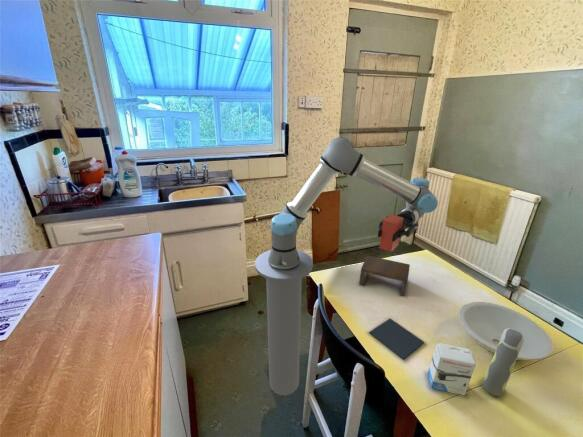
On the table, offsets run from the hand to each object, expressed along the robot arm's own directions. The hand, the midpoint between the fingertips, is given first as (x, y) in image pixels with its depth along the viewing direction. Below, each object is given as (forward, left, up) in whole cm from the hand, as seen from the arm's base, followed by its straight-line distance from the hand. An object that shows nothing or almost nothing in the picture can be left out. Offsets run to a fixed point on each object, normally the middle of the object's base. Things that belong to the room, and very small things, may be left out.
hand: (386, 235), depth 108 cm
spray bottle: (+47, -11, -24) cm, 54 cm away
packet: (-1, +5, -7) cm, 8 cm away
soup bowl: (+41, +8, -24) cm, 48 cm away
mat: (+21, -17, -24) cm, 36 cm away
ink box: (+39, -20, -24) cm, 50 cm away
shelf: (-1, +5, -24) cm, 25 cm away
